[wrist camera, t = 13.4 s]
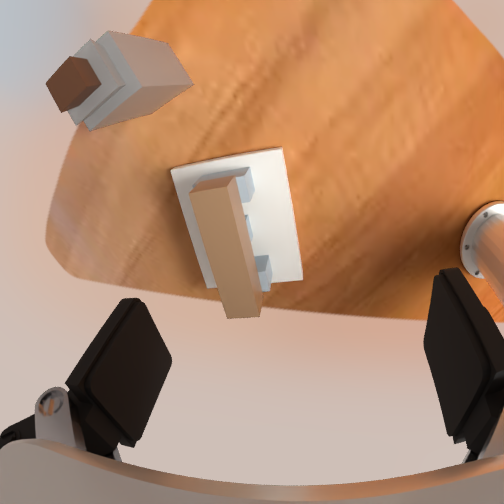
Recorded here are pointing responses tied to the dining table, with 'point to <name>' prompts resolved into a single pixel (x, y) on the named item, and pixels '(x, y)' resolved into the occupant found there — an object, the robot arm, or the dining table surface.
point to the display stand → (250, 211)
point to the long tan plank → (228, 245)
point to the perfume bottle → (117, 80)
